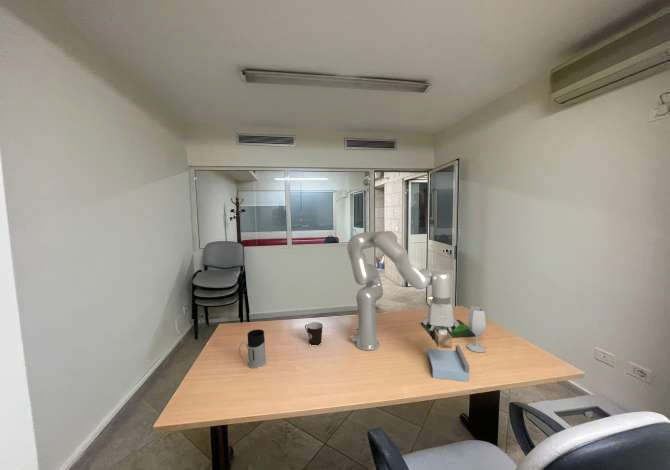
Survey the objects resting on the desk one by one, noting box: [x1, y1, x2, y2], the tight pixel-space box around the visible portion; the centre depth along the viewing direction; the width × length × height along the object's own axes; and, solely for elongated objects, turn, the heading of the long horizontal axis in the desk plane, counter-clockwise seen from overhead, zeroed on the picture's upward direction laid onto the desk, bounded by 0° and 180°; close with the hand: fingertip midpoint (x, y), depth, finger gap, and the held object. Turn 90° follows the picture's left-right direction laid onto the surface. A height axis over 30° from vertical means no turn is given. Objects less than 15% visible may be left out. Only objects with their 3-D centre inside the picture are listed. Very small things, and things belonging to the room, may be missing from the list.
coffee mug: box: [304, 321, 324, 346], centre depth 145 cm, size 12×9×10 cm
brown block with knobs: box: [432, 326, 453, 349], centre depth 118 cm, size 6×12×6 cm, turn 176°
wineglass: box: [466, 306, 487, 353], centre depth 134 cm, size 9×9×21 cm
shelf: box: [427, 344, 470, 383], centre depth 118 cm, size 14×17×7 cm
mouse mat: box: [420, 319, 475, 339], centre depth 157 cm, size 27×22×1 cm
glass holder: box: [238, 329, 267, 369], centre depth 123 cm, size 9×14×15 cm, turn 149°
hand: (440, 338), depth 118 cm, fingers closed on brown block with knobs, 6 cm apart
